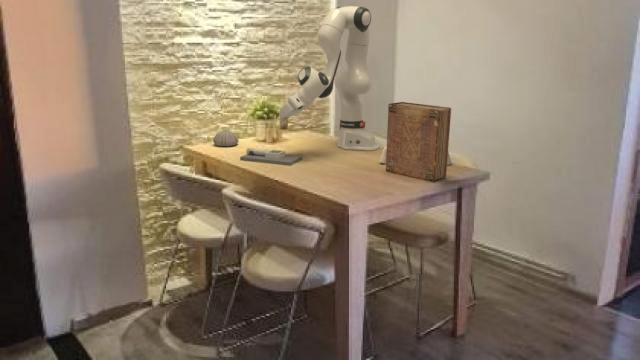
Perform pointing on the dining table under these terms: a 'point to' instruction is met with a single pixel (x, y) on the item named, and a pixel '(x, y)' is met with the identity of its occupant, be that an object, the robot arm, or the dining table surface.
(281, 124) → the brass valve
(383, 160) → the faucet
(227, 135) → the sea urchin shell
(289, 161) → the pipe board
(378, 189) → the dining table surface
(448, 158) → the flask
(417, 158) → the book
